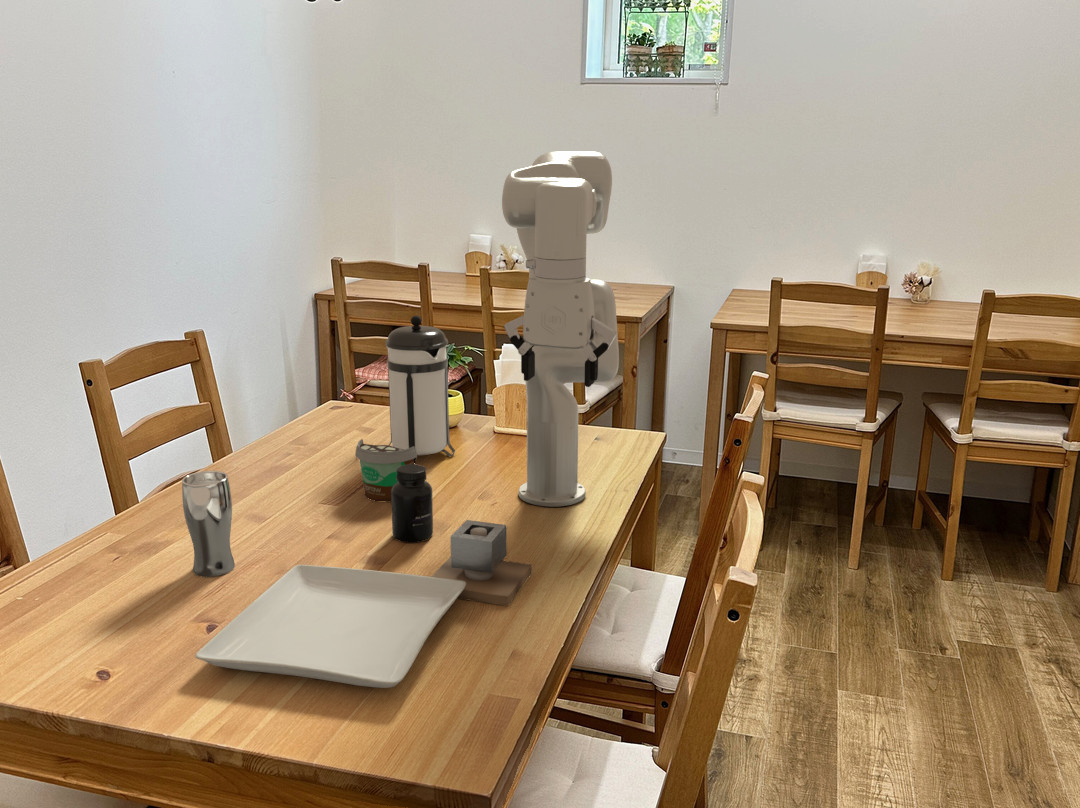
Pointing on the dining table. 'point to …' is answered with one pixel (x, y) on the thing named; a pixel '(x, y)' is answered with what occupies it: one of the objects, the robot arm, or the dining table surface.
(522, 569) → the shaft block
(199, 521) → the beer glass
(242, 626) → the square plate
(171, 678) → the dining table surface
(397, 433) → the coffee press
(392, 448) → the food container
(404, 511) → the supplement bottle
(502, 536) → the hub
